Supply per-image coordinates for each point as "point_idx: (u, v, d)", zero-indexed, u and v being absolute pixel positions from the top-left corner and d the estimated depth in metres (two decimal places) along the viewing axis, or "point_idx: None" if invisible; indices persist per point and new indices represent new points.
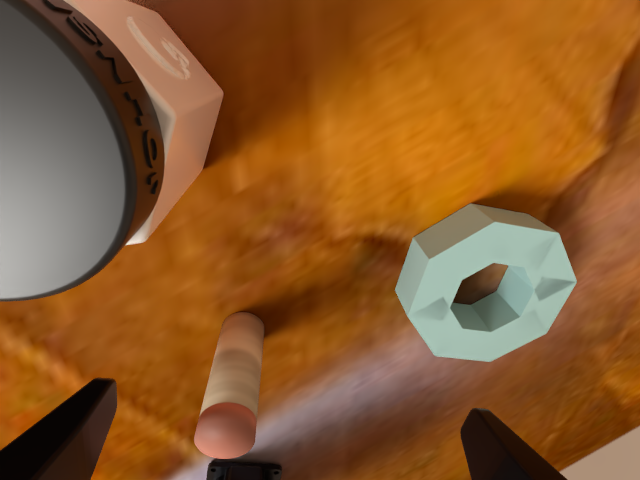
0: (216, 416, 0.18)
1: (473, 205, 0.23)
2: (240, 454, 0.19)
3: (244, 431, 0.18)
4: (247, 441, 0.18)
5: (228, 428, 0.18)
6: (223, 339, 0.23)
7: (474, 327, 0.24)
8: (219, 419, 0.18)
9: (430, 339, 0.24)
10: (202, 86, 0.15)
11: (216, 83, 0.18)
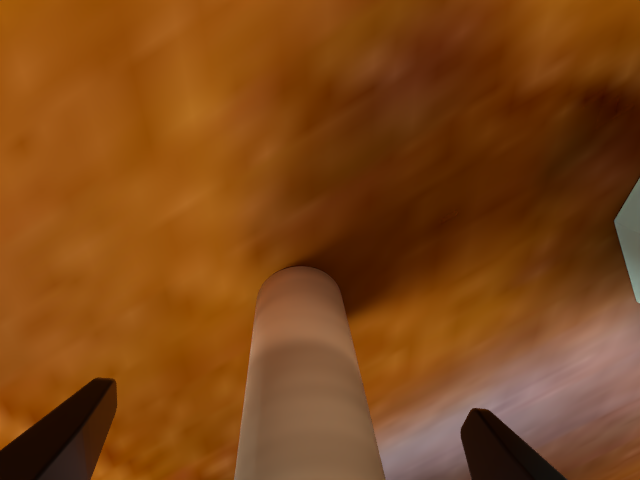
0: None
1: None
2: None
3: None
4: None
5: None
6: (270, 320, 0.10)
7: None
8: None
9: None
10: None
11: None
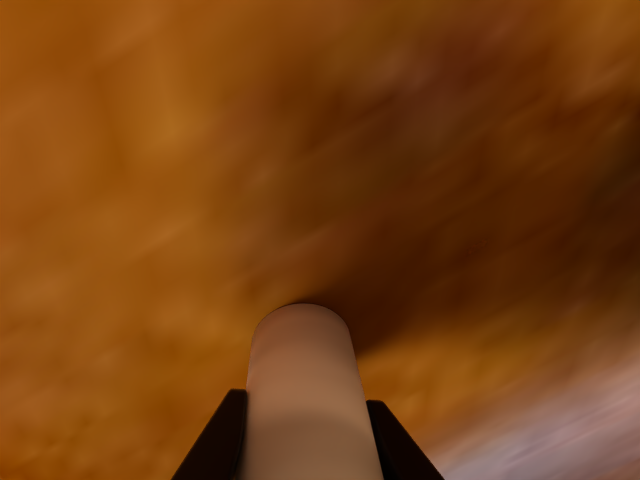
0: None
1: None
2: None
3: None
4: None
5: None
6: (267, 378, 0.08)
7: None
8: None
9: None
10: None
11: None
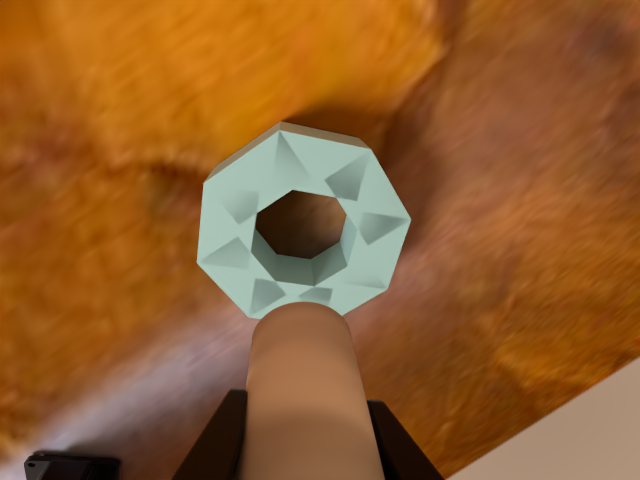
0: None
1: (280, 122, 0.18)
2: None
3: None
4: None
5: None
6: (267, 376, 0.08)
7: (294, 280, 0.19)
8: None
9: (236, 294, 0.19)
10: None
11: None
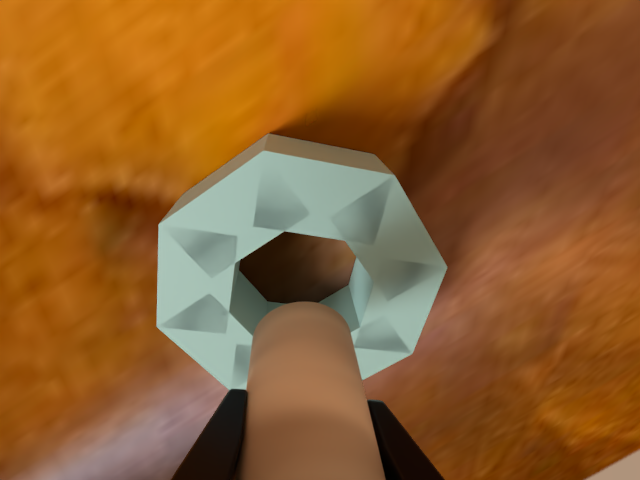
0: None
1: (268, 135, 0.13)
2: None
3: None
4: None
5: None
6: (267, 376, 0.08)
7: None
8: None
9: (212, 364, 0.14)
10: None
11: None
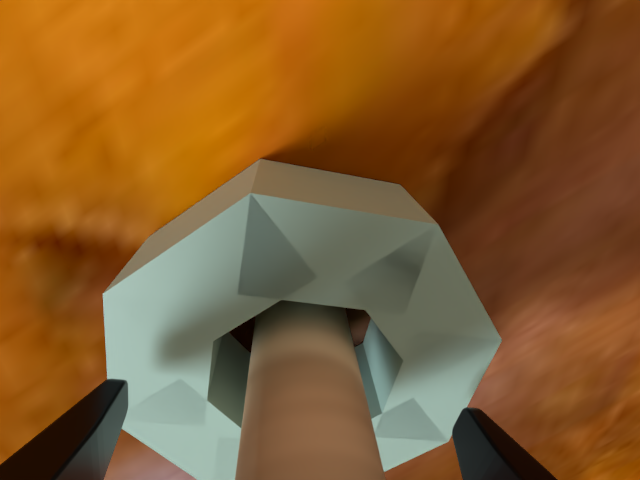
0: None
1: (260, 162, 0.10)
2: None
3: None
4: None
5: None
6: (270, 329, 0.10)
7: None
8: None
9: (187, 461, 0.11)
10: None
11: None
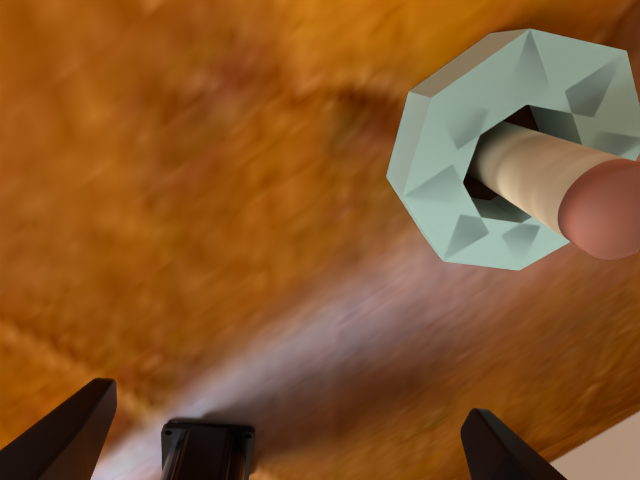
0: (631, 167, 0.10)
1: None
2: (634, 250, 0.11)
3: None
4: None
5: None
6: (503, 136, 0.16)
7: (497, 218, 0.17)
8: None
9: (435, 234, 0.17)
10: None
11: None
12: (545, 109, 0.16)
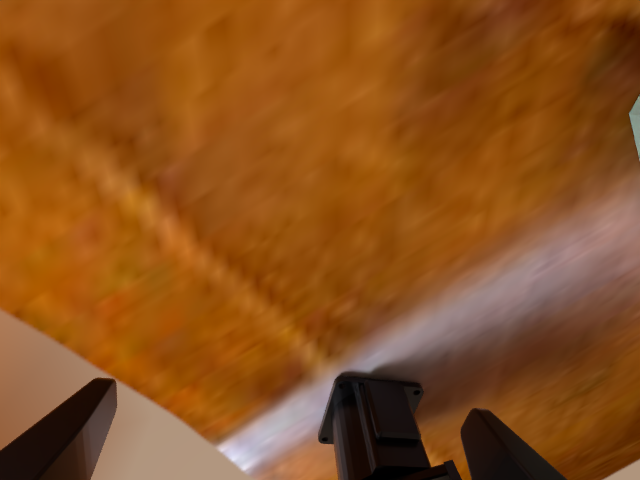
0: None
1: None
2: None
3: None
4: None
5: None
6: None
7: None
8: None
9: None
10: None
11: None
12: None
